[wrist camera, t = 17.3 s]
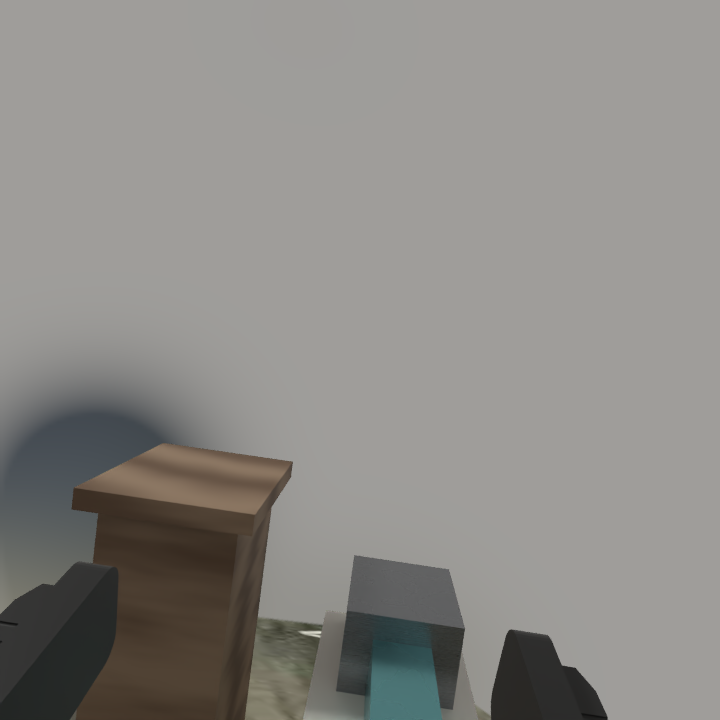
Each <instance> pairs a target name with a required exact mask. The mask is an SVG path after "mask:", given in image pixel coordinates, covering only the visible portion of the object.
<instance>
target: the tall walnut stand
mask: <svg viewBox="0 0 720 720" xmlns="http://www.w3.org/2000/svg"><path fill="white" fill-rule="evenodd" d="M292 464H293V462H291V461H283V460H277V459H270V458H263V457H256V456H249V455H242V454H235V453H228V452H222V451H214V450H208V449H200V448H194V447H186V446H180V445H173V444H165V443H163V444H161V445H159V446H157V447H155V448H153V449H151V450H149V451H147V452H145V453H143V454H141V455H139V456H137V457H135V458H133V459H131V460H129V461H127V462H125V463H123V464H121V465H119V466H117V467H115V468H113V469H111V470H109V471H107V472H105V473H103V474H101V475H99V476H97V477H95V478H93V479H91V480H89V481H87V482H84V483H83V484H80V485H78V486H77V487H74V491H73V500H72V509H73V510H80V511H86V512H92V513H93V512H94V513H98V520H97V531H96V539H95V548H94V557H93V564H99V565H106V566H112V567H116V568H117V569H118V574H119V580H118V603H117V626H116V636H115V640H114V644H113V647H112V650H111V653H110V656H109V658H108V660H107V662H106V664H105V666H104V667H103V669H102V670H101V672H100V674H99V675H98V677H97V678H96V680H95V681H94V683H93V684H92V686H91V688H90V689H89V691H88V692H87V694H86V695H85V697H84V699H83V700H82V702H81V703H80V705H79V706H78V708H77V713H76V720H244V719H245V711H246V704H247V696H248V688H249V680H250V672H251V664H252V656H253V649H254V641H255V633H256V625H257V617H258V609H259V602H260V594H261V585H262V578H263V569H264V561H265V553H266V546H267V539H268V531H269V523H270V515H271V507H272V505H273V504H274V502H275V501H276V499H277V498H278V496H279V495H280V493H281V491H282V490H283V488H284V487H285V485H286V484H287V482H288V481H289V479H290V478H291V471H292Z"/></svg>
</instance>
